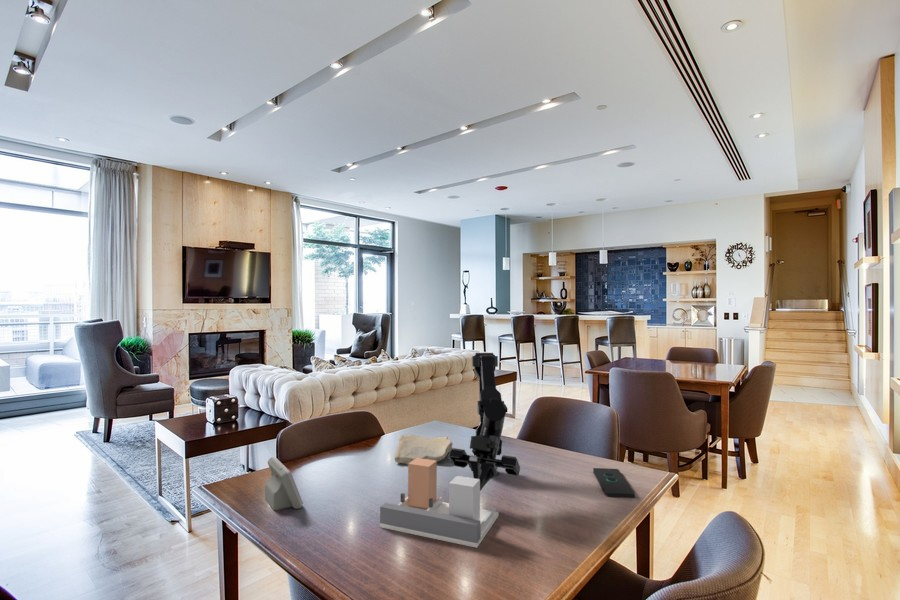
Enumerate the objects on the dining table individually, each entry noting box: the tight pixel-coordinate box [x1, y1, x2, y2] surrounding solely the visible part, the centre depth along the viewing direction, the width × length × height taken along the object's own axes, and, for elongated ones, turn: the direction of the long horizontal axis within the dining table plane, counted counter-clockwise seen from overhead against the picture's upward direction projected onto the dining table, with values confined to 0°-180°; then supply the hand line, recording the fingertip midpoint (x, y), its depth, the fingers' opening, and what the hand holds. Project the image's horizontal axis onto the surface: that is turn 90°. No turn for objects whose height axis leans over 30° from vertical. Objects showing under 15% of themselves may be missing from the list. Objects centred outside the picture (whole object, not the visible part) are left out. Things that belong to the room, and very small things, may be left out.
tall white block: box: [448, 475, 481, 521], centre depth 114 cm, size 5×6×11 cm
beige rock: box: [394, 434, 453, 466], centre depth 172 cm, size 24×8×20 cm
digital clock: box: [264, 456, 304, 511], centre depth 131 cm, size 16×9×11 cm, turn 24°
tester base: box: [379, 493, 500, 548], centre depth 119 cm, size 17×25×5 cm
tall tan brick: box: [407, 458, 438, 509], centre depth 127 cm, size 5×6×11 cm
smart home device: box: [592, 467, 636, 499], centre depth 144 cm, size 8×2×20 cm
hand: (476, 492), depth 122 cm, fingers closed
